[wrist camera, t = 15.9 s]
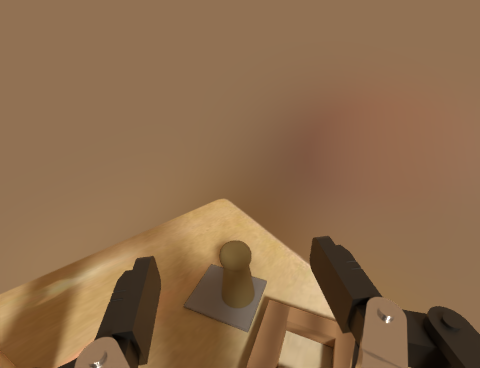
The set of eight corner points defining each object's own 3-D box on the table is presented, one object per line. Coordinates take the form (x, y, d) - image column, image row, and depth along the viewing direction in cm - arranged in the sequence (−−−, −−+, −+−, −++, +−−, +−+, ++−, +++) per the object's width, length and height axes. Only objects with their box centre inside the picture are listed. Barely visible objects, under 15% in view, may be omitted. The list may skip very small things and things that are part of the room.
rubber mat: (184, 306, 42) (183, 305, 42) (211, 265, 50) (211, 264, 50) (247, 332, 38) (247, 330, 38) (266, 282, 46) (266, 281, 46)
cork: (232, 274, 47) (229, 231, 42) (260, 287, 45) (260, 242, 39) (214, 299, 43) (208, 253, 38) (244, 314, 40) (242, 267, 35)
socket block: (242, 388, 32) (242, 379, 30) (269, 308, 41) (269, 299, 40) (360, 446, 27) (364, 438, 25) (359, 340, 36) (362, 330, 35)
